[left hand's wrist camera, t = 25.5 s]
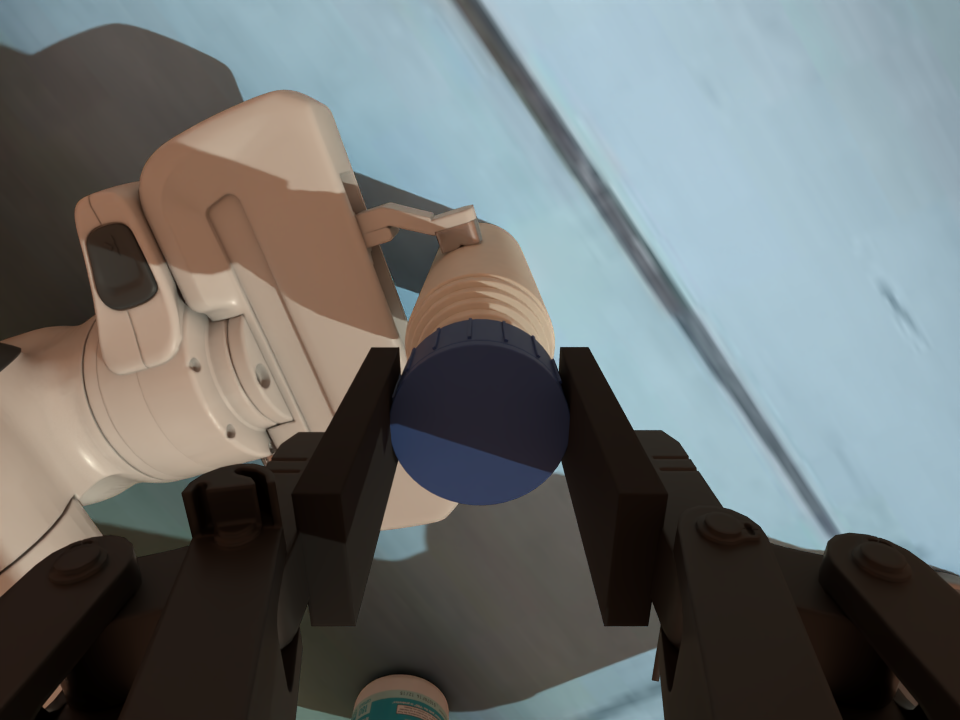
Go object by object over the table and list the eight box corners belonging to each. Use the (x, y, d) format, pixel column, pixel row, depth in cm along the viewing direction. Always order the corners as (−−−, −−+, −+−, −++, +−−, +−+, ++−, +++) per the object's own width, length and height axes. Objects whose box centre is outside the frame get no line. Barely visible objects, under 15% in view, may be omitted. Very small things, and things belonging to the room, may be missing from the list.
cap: (365, 385, 15) (348, 420, 13) (490, 283, 14) (492, 304, 12) (470, 490, 16) (469, 535, 14) (592, 403, 15) (608, 440, 13)
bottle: (416, 276, 30) (339, 430, 14) (471, 202, 29) (460, 275, 12) (487, 330, 31) (495, 531, 15) (544, 261, 30) (623, 400, 13)
